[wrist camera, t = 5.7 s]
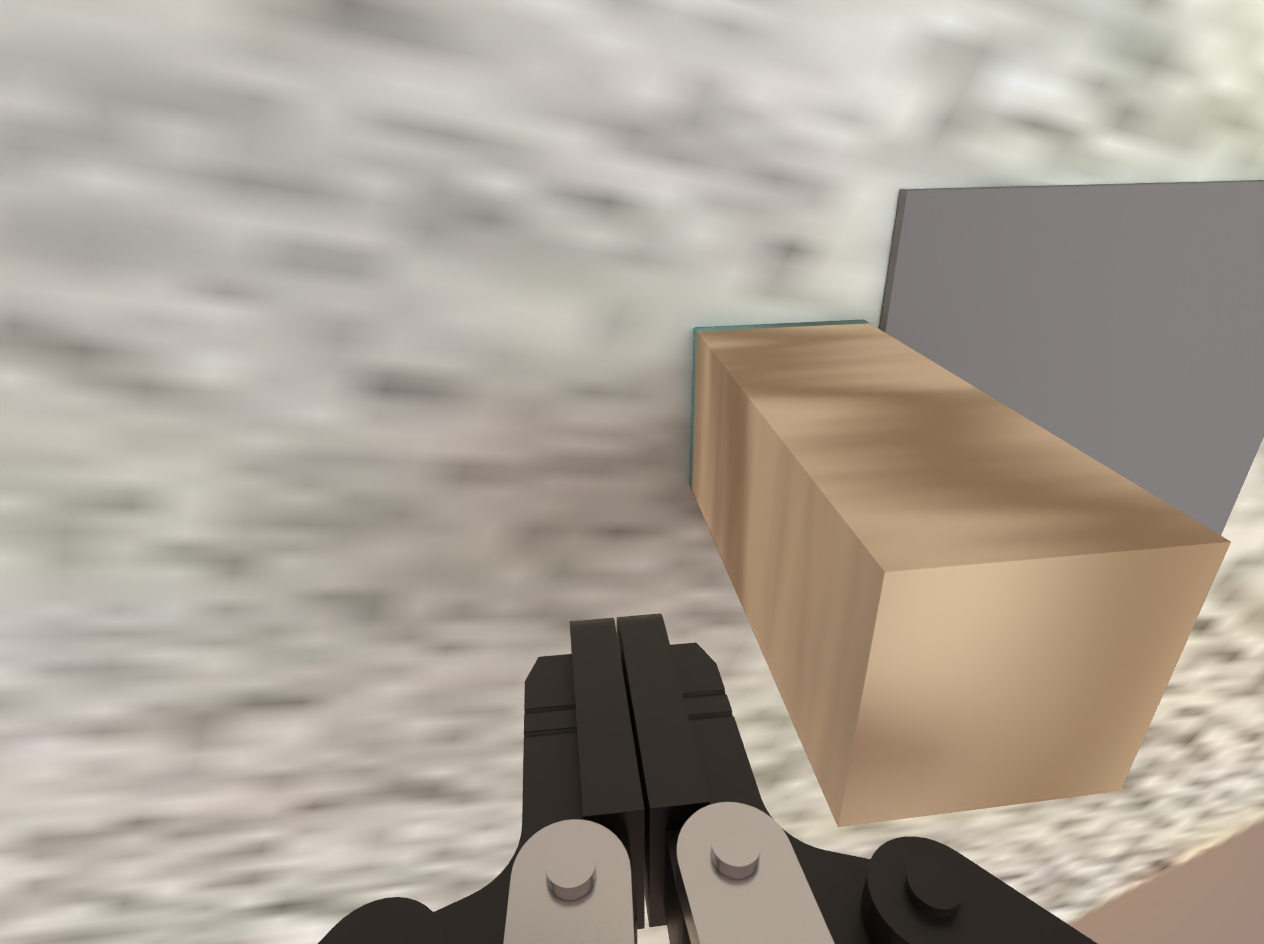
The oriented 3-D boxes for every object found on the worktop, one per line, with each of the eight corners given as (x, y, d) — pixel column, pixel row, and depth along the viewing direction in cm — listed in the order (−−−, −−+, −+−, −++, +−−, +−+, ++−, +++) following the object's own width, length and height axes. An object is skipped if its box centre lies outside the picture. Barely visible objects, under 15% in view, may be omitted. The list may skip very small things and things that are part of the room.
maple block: (689, 484, 22) (837, 827, 11) (694, 327, 20) (884, 572, 9) (842, 473, 23) (1120, 790, 12) (863, 319, 20) (1230, 541, 10)
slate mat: (843, 563, 24) (849, 570, 24) (900, 189, 19) (907, 190, 18) (1210, 532, 26) (1220, 537, 25) (1361, 177, 20) (1375, 178, 20)
